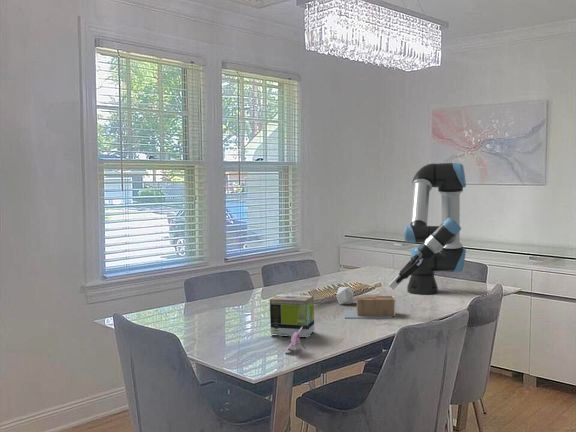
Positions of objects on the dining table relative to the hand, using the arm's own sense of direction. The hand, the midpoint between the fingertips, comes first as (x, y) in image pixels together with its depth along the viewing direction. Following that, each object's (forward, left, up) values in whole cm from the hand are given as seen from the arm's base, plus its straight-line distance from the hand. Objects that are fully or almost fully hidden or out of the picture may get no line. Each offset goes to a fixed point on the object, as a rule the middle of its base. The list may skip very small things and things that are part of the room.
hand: (390, 287), depth 257 cm
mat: (0, -10, -12) cm, 16 cm away
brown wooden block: (0, +2, -8) cm, 8 cm away
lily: (+49, -39, -12) cm, 64 cm away
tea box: (+29, -41, -12) cm, 52 cm away
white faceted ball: (-21, -19, -12) cm, 31 cm away
